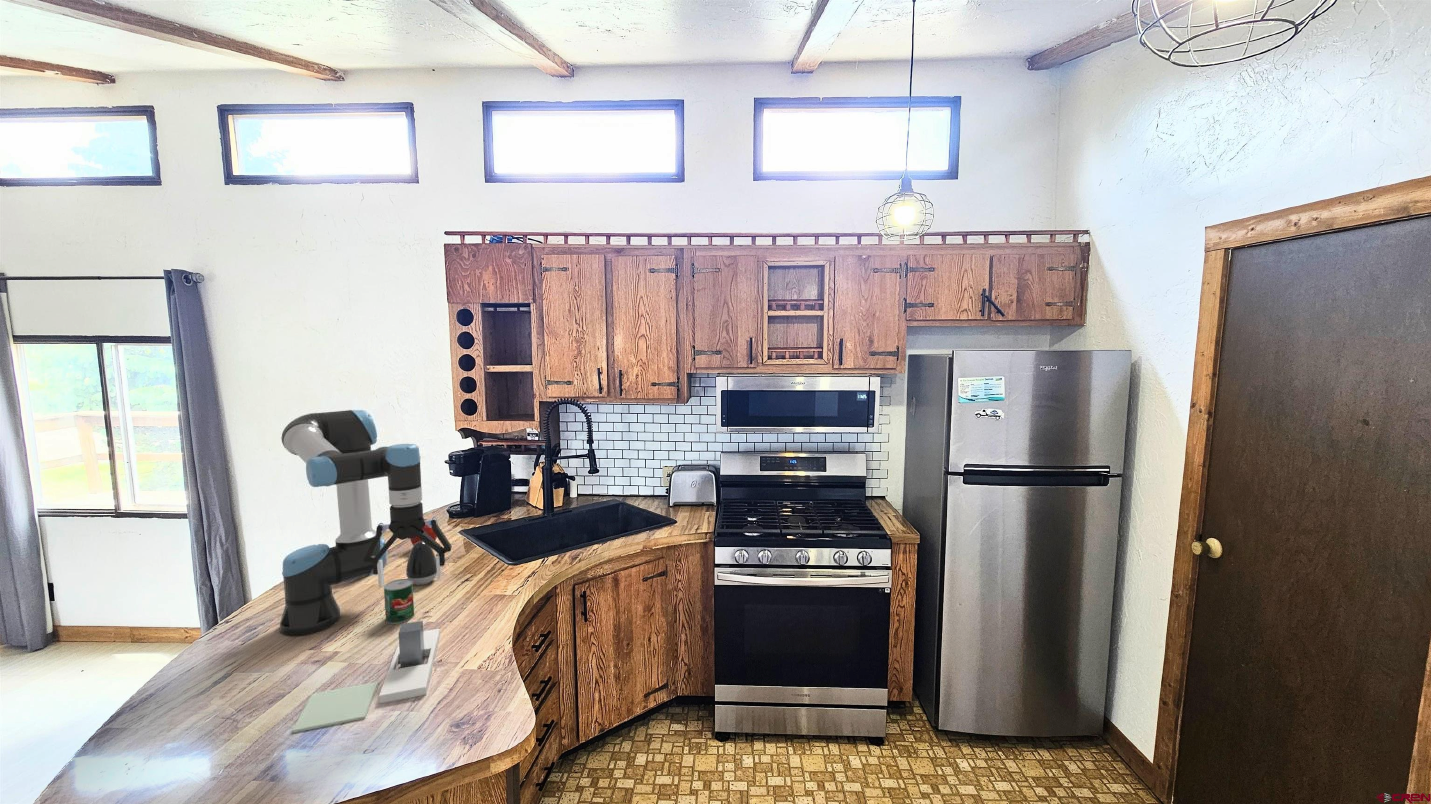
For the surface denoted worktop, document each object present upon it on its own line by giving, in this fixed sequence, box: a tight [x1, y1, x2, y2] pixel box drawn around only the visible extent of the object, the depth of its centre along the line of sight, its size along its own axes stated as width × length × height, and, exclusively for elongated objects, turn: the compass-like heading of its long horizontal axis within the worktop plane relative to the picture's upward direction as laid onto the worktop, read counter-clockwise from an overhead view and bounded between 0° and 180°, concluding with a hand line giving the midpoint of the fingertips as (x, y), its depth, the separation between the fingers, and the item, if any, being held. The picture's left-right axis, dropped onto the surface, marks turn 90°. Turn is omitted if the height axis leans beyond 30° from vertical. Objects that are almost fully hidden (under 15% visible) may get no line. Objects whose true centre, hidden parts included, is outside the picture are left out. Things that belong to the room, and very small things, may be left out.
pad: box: [291, 681, 379, 734], centre depth 132 cm, size 14×14×1 cm
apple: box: [410, 518, 438, 547], centre depth 232 cm, size 10×10×14 cm
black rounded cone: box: [405, 541, 437, 586], centre depth 201 cm, size 10×10×15 cm
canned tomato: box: [383, 578, 415, 625], centre depth 175 cm, size 8×8×11 cm
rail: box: [378, 628, 441, 704], centre depth 149 cm, size 10×30×2 cm, turn 20°
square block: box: [398, 620, 426, 668], centre depth 149 cm, size 5×5×11 cm
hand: (410, 581), depth 148 cm, fingers open, 13 cm apart
